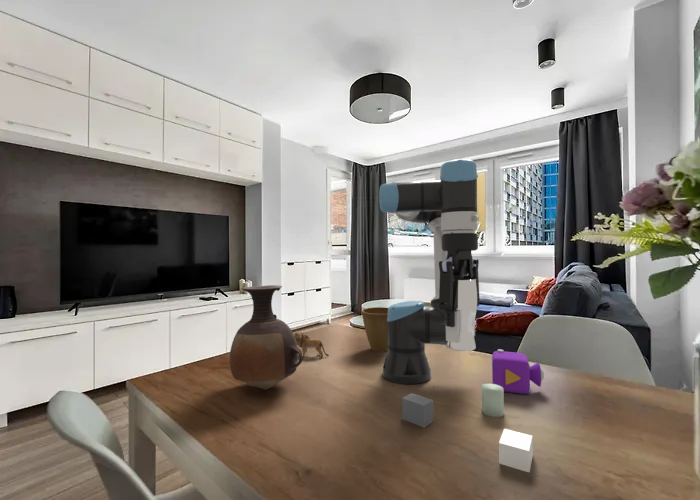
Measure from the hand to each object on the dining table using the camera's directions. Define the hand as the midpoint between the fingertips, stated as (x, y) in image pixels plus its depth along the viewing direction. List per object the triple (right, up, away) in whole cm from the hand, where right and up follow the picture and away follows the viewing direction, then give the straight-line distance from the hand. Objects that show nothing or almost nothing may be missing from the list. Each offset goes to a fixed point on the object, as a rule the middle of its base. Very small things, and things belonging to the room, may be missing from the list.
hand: (460, 337), depth 74 cm
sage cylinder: (+11, -20, +9) cm, 25 cm away
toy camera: (+24, -21, +23) cm, 39 cm away
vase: (-49, -22, +25) cm, 59 cm away
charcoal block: (-8, -21, +5) cm, 23 cm away
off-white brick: (+7, -21, -10) cm, 24 cm away
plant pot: (-12, -21, +64) cm, 69 cm away
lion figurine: (-40, -22, +57) cm, 73 cm away
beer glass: (0, -2, 0) cm, 2 cm away
